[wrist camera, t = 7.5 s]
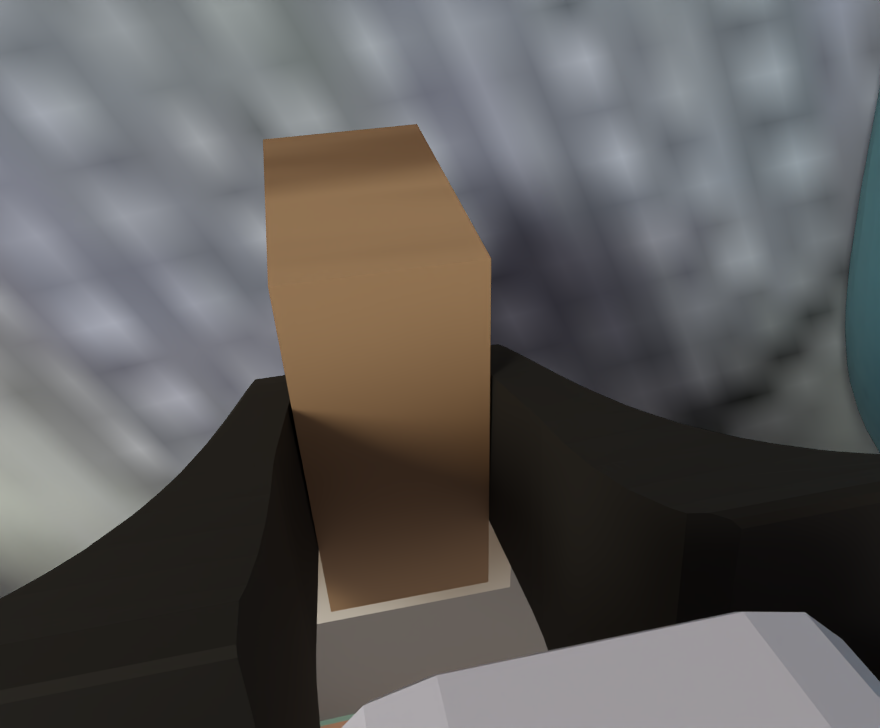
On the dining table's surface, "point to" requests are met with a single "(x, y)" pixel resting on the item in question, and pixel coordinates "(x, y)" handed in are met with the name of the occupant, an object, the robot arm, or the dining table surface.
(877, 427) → the casserole dish
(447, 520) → the tall cardboard box
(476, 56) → the dining table surface
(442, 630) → the mat
